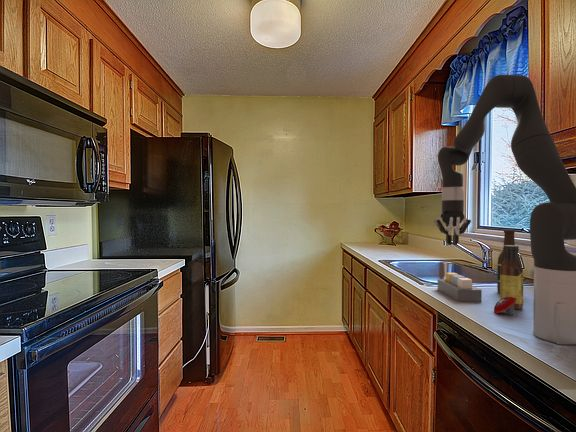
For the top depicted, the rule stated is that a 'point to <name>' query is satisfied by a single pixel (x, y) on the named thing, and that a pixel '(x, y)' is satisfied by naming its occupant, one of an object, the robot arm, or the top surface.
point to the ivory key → (464, 283)
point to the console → (459, 291)
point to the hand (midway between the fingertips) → (452, 244)
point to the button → (505, 305)
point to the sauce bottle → (511, 276)
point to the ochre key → (449, 276)
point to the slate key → (455, 279)
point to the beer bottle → (507, 241)
